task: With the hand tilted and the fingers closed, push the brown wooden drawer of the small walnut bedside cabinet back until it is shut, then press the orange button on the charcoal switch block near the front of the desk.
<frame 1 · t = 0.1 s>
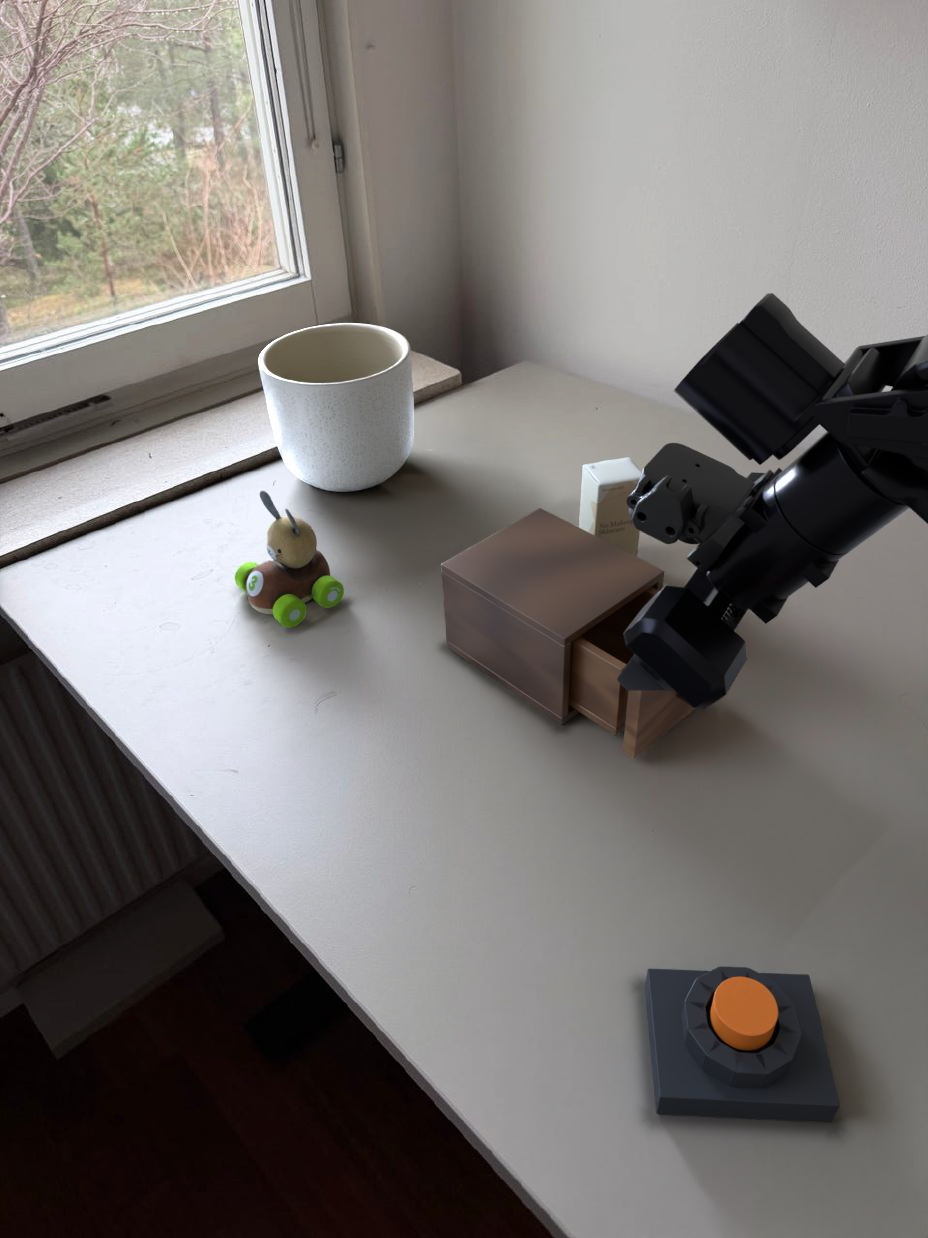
hand: (652, 643, 63), 16 cm above the table, tool tilted 35°, fingers open, 9 cm apart
box: (606, 564, 97), on the table
brown wooden drawer: (623, 653, 79), point 5 cm above the table, slide at 6.0 cm
nightstand: (549, 651, 87), on the table
button: (743, 1013, 54), point 4 cm above the table, slide at 0.1 cm
planter: (350, 472, 114), on the table
toy car: (292, 597, 95), on the table
switch block: (732, 1050, 57), on the table
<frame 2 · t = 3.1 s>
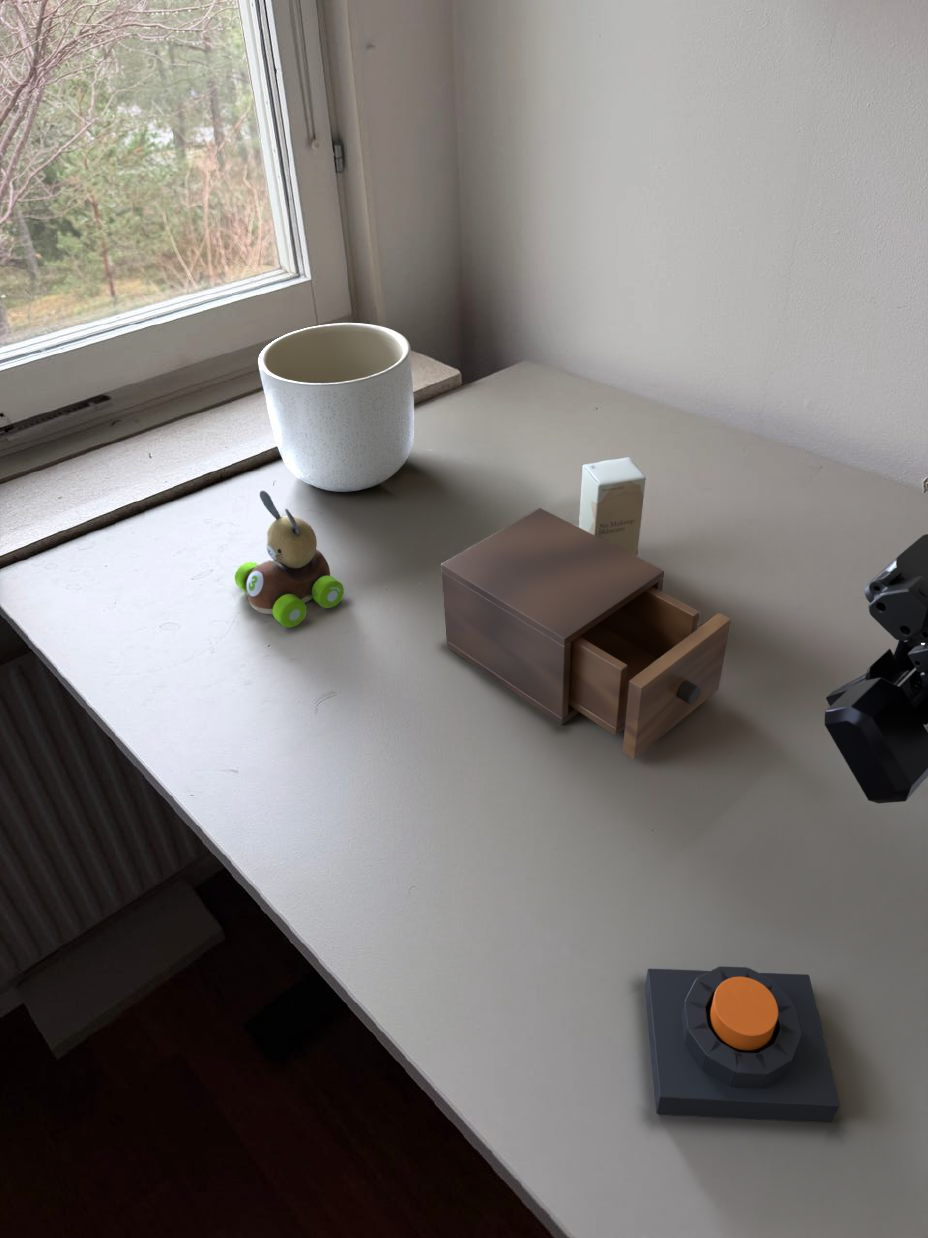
hand: (831, 701, 64), 11 cm above the table, tool tilted 45°, fingers closed
nothing on the table moved.
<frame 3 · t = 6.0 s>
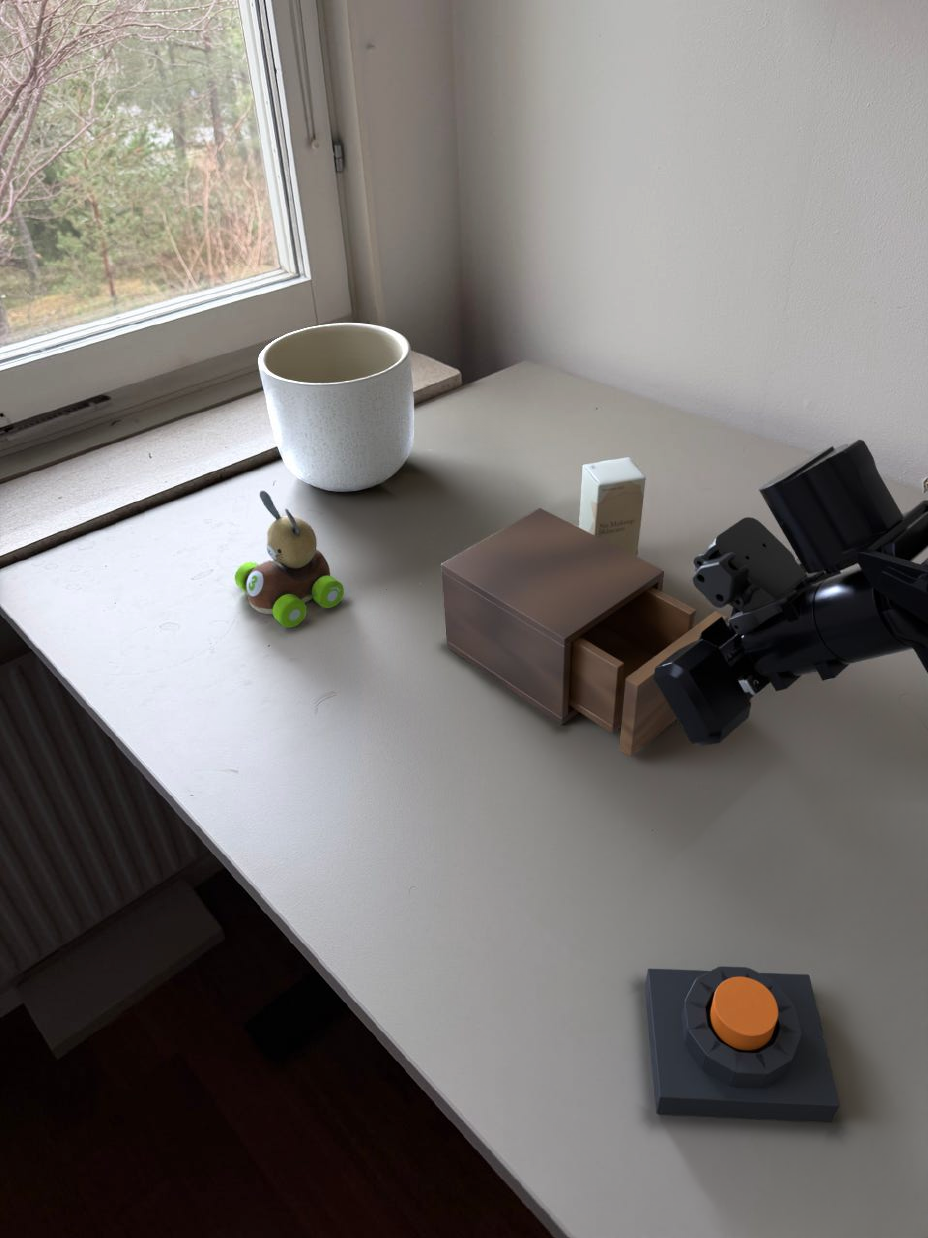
hand: (685, 665, 74), 7 cm above the table, tool tilted 45°, fingers closed, pressing on brown wooden drawer
brown wooden drawer: (619, 651, 79), point 5 cm above the table, slide at 5.6 cm, touching gripper
everything else where it was.
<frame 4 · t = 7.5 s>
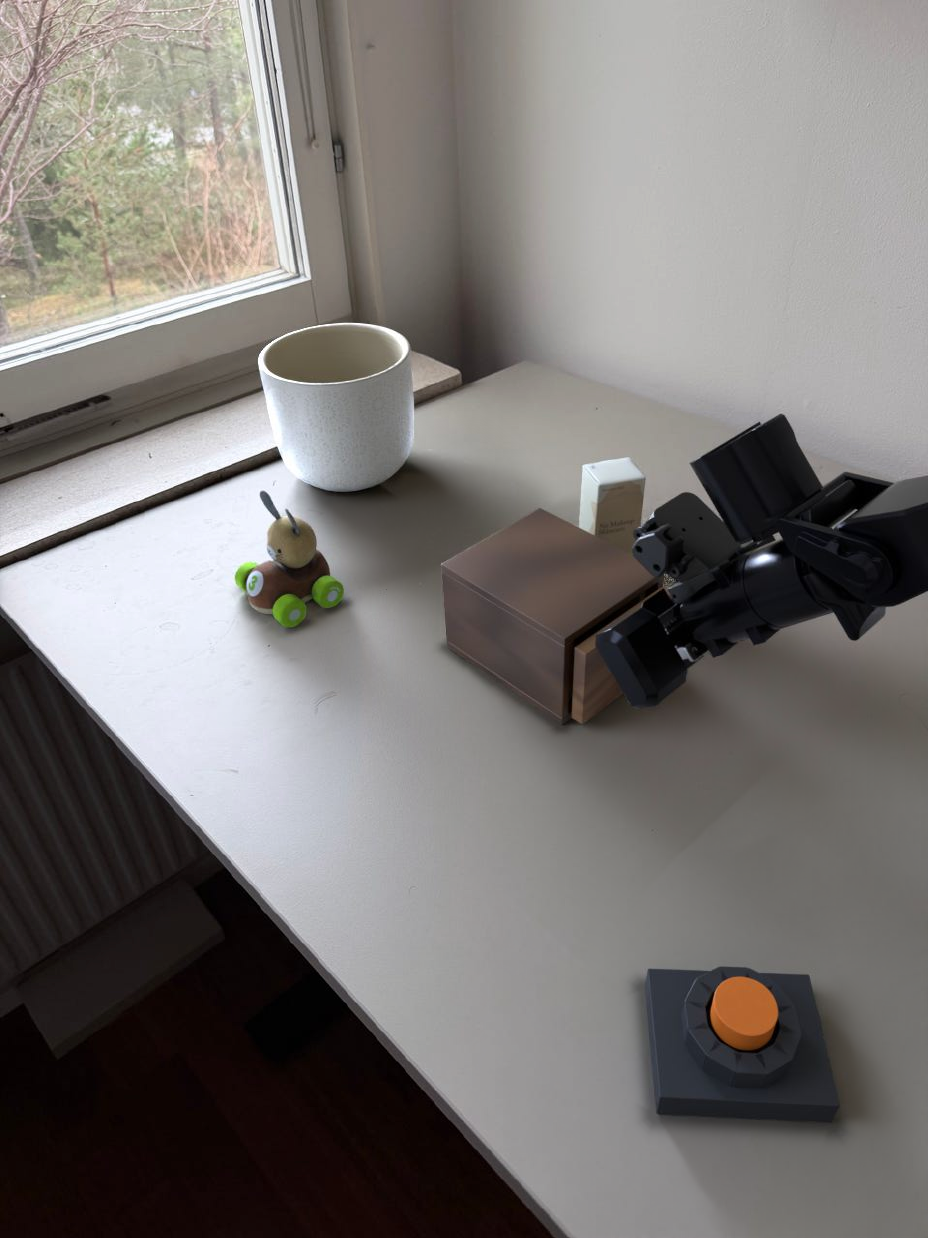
hand: (634, 637, 77), 7 cm above the table, tool tilted 45°, fingers closed
brown wooden drawer: (574, 624, 82), point 5 cm above the table, slide at 0.5 cm
everything else where it was.
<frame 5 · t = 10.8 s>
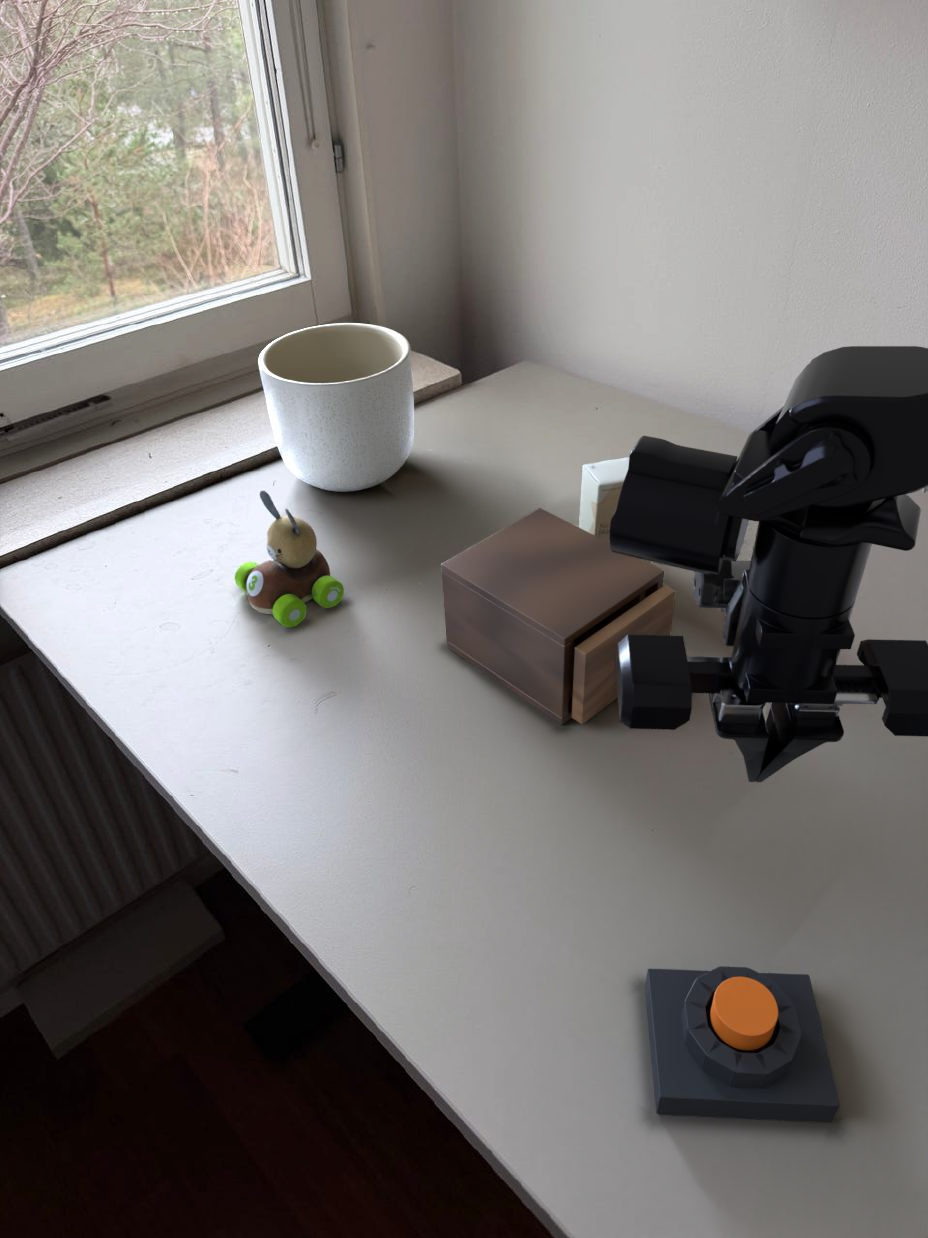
hand: (753, 776, 61), 10 cm above the table, tool pointing down, fingers closed
nothing on the table moved.
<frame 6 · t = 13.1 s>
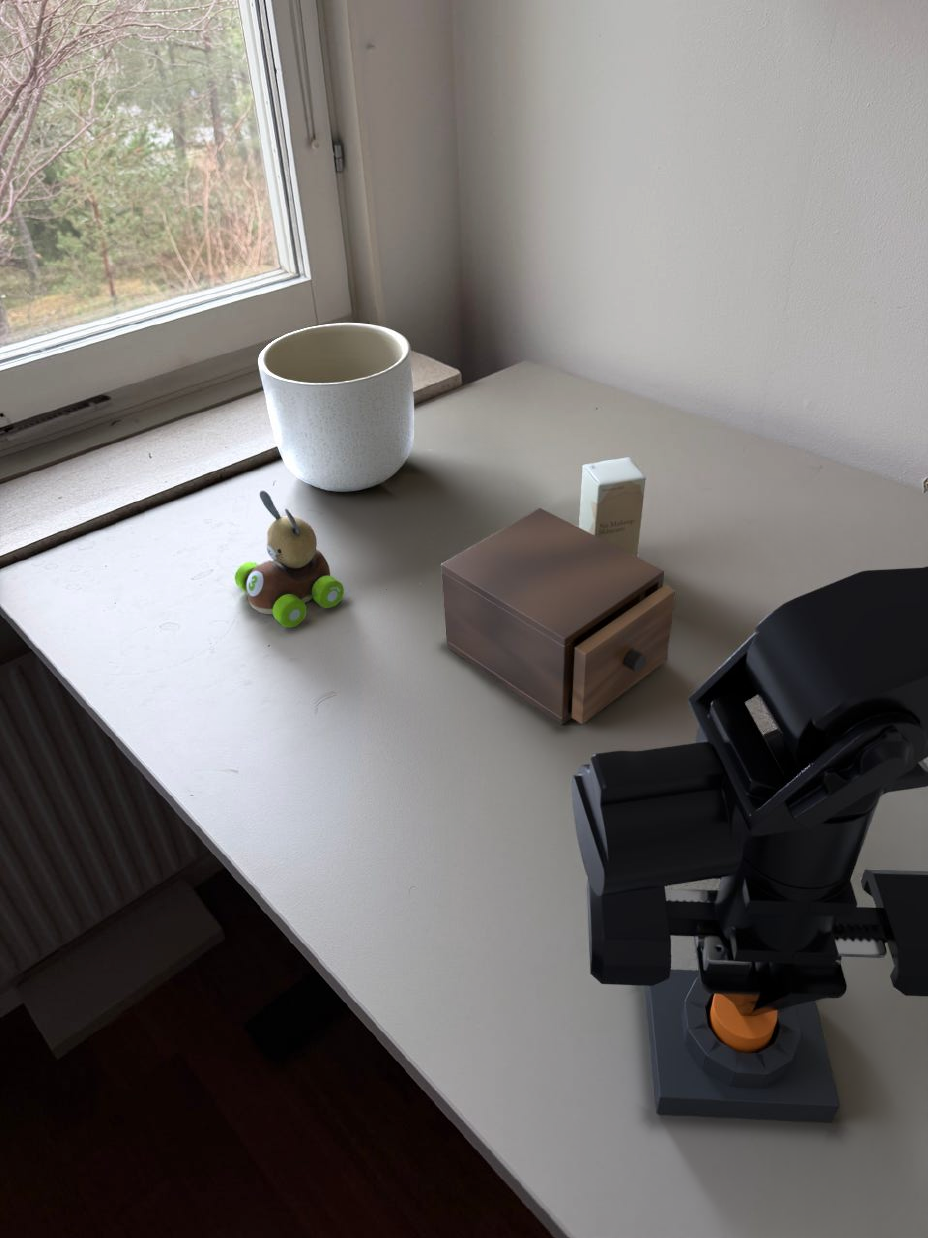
hand: (745, 1008, 54), 5 cm above the table, tool pointing down, fingers closed, pressing on button
button: (742, 1016, 55), point 4 cm above the table, slide at -0.2 cm, touching gripper
everything else where it was.
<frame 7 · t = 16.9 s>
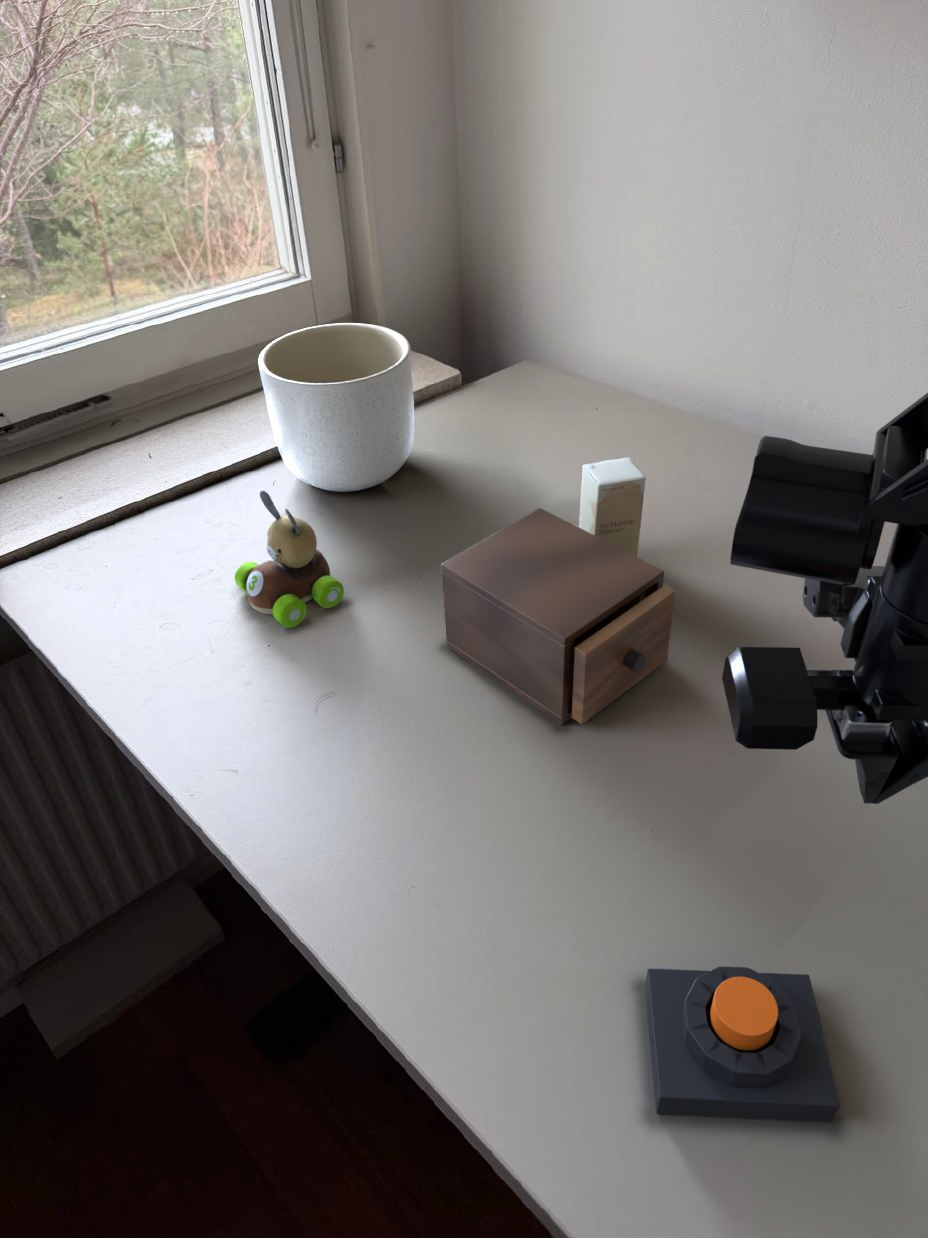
hand: (868, 797, 57), 12 cm above the table, tool pointing down, fingers closed
button: (743, 1013, 54), point 4 cm above the table, slide at 0.1 cm
everything else where it was.
at the end: brown wooden drawer slide at 0.5 cm; button pushed in 1.1 cm at the most during the clip, back to where it started at the end; button slide at 0.1 cm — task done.
